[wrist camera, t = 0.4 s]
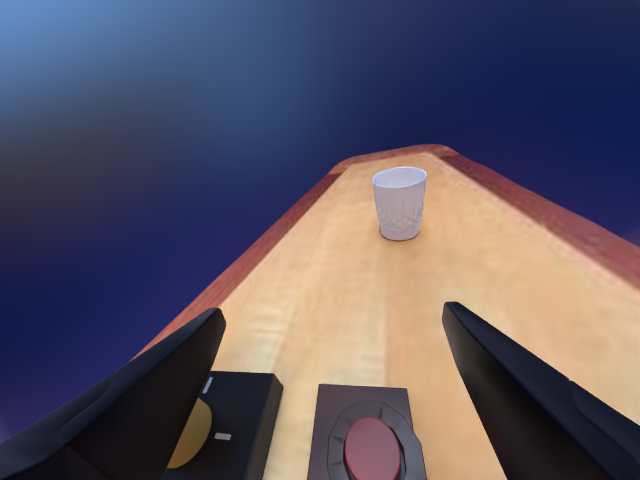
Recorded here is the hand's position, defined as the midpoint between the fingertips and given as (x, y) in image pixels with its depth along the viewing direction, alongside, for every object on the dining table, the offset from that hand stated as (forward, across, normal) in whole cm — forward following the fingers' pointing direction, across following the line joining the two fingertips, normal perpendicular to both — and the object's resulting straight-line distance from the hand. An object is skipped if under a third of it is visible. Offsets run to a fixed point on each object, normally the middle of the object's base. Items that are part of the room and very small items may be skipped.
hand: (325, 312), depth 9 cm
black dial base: (+2, +12, +18) cm, 22 cm away
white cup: (+32, -10, +12) cm, 35 cm away
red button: (+1, -2, +14) cm, 14 cm away
